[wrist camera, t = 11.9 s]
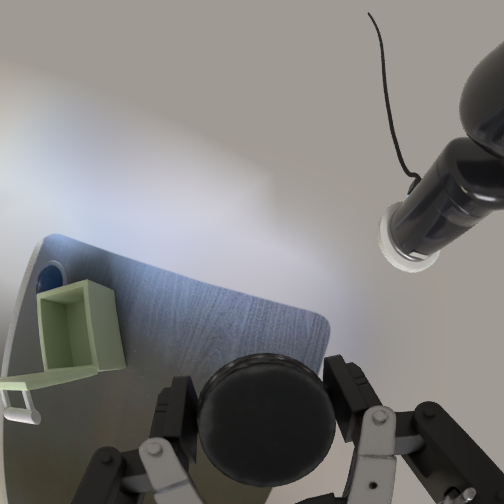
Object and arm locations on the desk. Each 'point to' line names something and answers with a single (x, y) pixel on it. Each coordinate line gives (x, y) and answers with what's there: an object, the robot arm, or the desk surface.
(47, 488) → the desk surface
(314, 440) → the pill bottle
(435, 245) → the robot arm
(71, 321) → the pale green open box
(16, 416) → the green box lid
